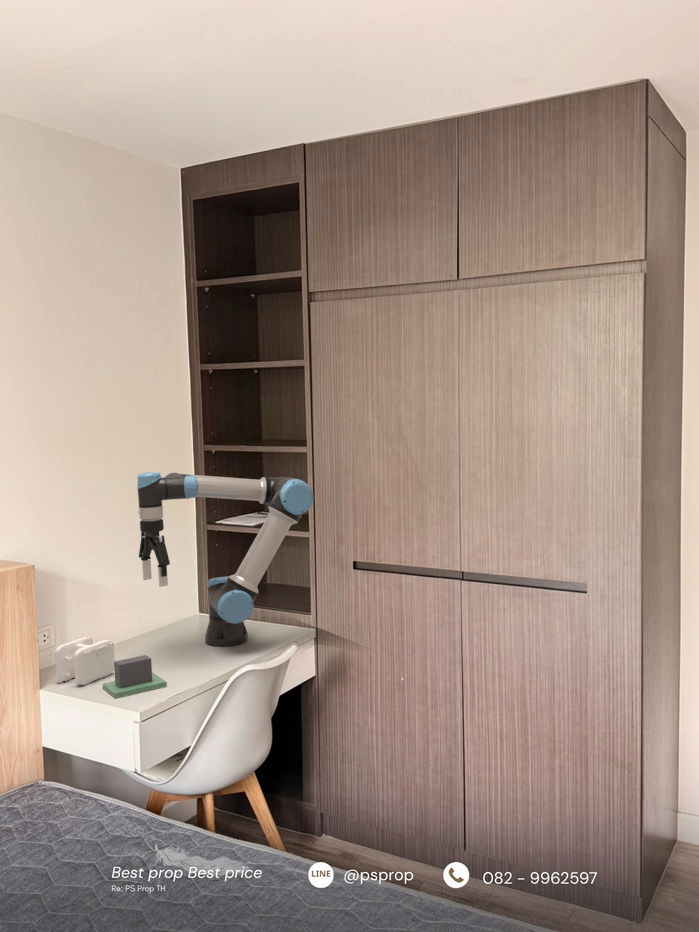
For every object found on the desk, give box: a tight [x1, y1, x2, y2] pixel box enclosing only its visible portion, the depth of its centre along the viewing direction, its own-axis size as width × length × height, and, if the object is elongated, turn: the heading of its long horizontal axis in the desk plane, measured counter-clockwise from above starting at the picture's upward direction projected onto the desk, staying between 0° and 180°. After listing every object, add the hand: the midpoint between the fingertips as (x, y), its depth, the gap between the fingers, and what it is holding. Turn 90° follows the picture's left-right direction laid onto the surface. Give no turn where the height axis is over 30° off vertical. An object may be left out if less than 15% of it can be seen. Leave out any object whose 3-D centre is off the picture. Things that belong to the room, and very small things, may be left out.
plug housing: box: [113, 654, 153, 688], centre depth 255 cm, size 10×4×7 cm, turn 124°
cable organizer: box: [54, 636, 115, 686], centre depth 265 cm, size 15×11×12 cm
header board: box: [102, 672, 168, 699], centre depth 255 cm, size 16×11×6 cm
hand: (155, 582), depth 279 cm, fingers open, 13 cm apart
